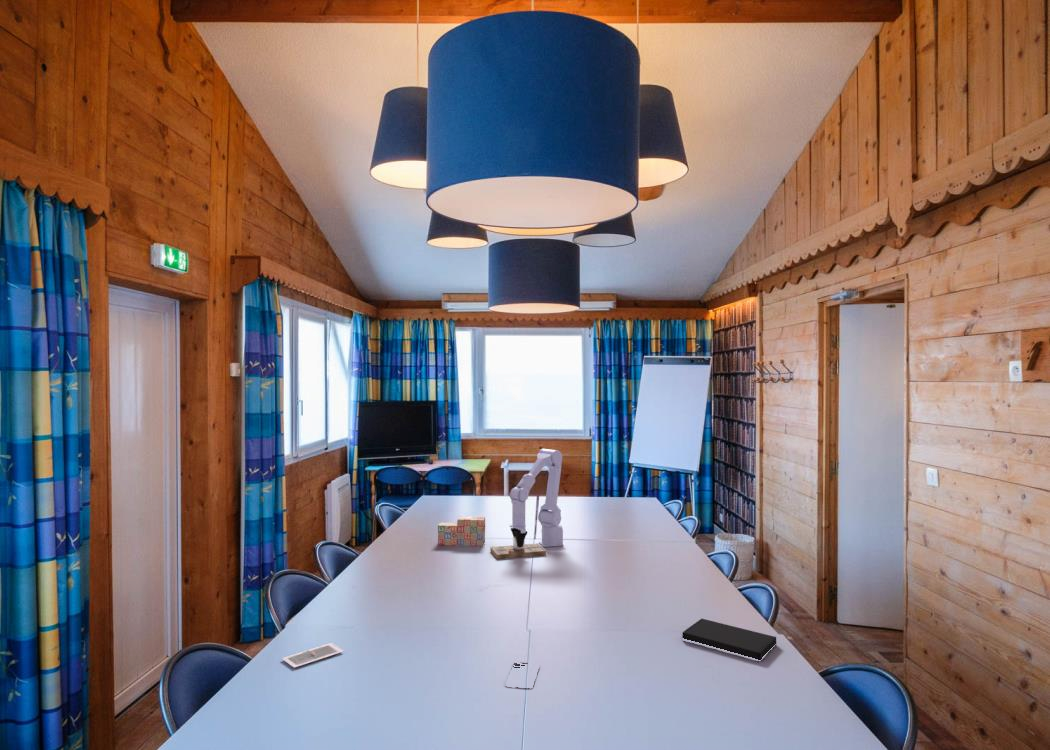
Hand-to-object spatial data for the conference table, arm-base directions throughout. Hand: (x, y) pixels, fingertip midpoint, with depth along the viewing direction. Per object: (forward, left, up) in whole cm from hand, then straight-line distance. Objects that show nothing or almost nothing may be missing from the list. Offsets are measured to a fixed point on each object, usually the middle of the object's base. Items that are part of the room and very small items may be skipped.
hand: (518, 545), depth 290 cm
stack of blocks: (+21, -22, -4) cm, 31 cm away
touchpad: (+84, +84, -4) cm, 119 cm away
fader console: (0, 0, -3) cm, 3 cm away
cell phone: (+30, +111, -4) cm, 115 cm away
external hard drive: (-34, +108, -4) cm, 114 cm away
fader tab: (0, 0, -1) cm, 1 cm away
